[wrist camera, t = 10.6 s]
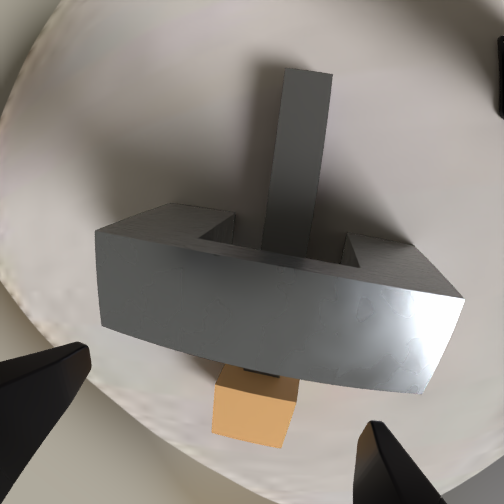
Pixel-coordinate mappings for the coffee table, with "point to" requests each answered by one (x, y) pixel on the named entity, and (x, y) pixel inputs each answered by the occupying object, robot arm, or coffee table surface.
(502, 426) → the coffee table surface
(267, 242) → the plug
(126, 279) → the grey piece
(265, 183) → the coffee table surface
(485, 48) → the coffee table surface
